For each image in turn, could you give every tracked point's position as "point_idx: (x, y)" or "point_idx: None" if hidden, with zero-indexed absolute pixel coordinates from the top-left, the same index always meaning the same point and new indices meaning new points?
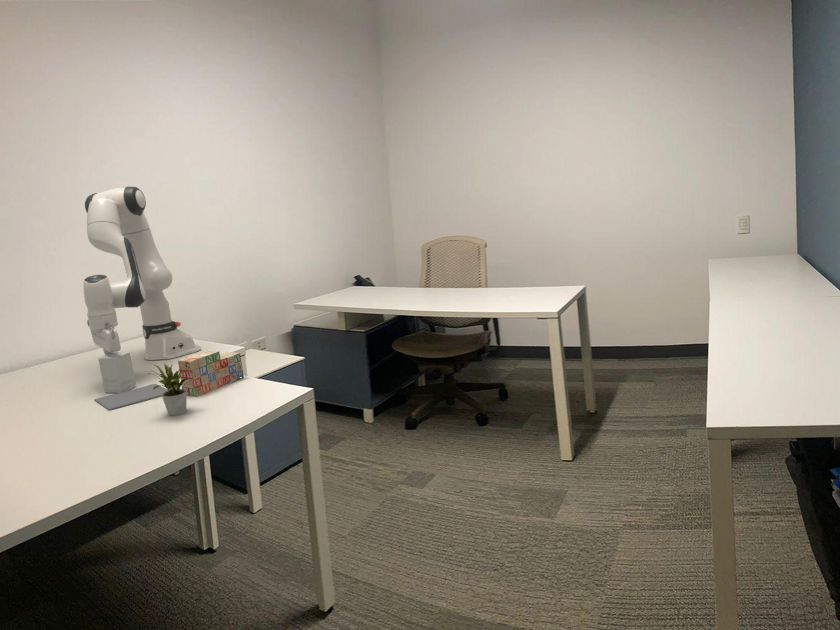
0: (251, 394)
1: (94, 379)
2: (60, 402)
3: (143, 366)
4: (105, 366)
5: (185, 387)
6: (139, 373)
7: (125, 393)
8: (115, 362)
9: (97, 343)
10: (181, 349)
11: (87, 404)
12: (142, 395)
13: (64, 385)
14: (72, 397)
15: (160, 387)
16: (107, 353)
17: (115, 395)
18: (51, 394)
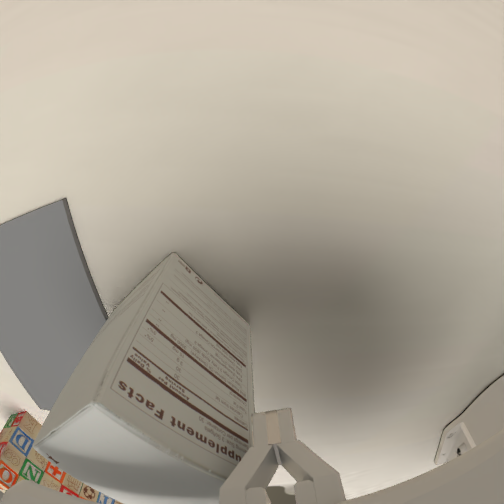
0: None
1: (477, 228)
2: (164, 36)
3: (459, 380)
4: (86, 371)
5: (13, 426)
6: (394, 381)
7: (76, 323)
8: (42, 425)
9: (466, 485)
10: (455, 449)
11: (34, 169)
12: (31, 355)
13: (484, 108)
14: (219, 86)
15: None
16: (233, 478)
17: (67, 287)
18: (380, 20)
